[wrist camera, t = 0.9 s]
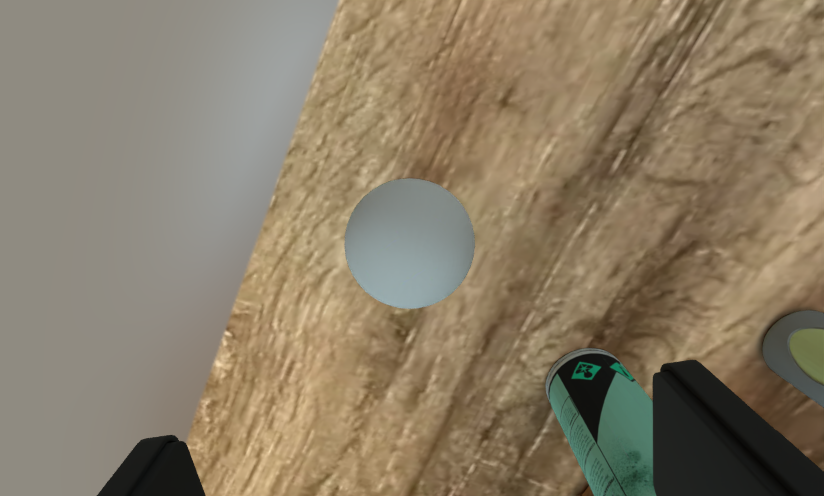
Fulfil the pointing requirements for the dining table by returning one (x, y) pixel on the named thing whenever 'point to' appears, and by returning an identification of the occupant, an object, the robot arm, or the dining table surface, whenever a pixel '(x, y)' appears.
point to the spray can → (604, 421)
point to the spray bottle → (798, 352)
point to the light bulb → (409, 243)
